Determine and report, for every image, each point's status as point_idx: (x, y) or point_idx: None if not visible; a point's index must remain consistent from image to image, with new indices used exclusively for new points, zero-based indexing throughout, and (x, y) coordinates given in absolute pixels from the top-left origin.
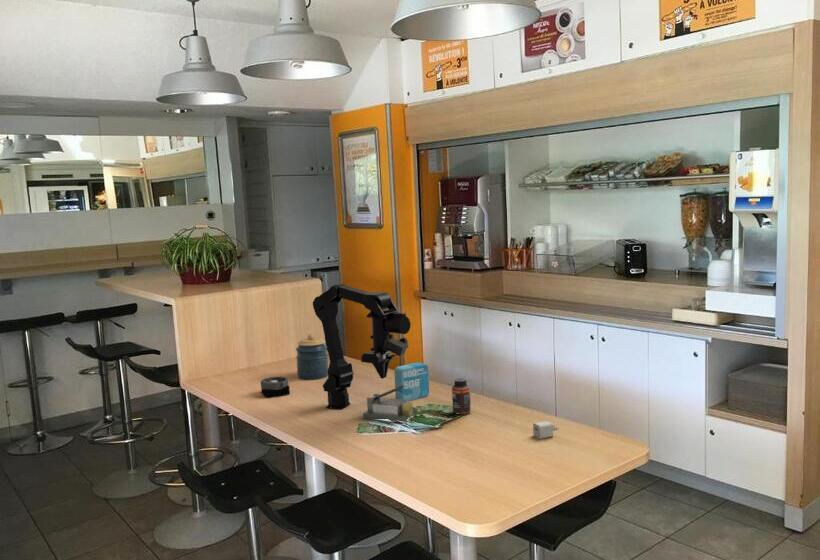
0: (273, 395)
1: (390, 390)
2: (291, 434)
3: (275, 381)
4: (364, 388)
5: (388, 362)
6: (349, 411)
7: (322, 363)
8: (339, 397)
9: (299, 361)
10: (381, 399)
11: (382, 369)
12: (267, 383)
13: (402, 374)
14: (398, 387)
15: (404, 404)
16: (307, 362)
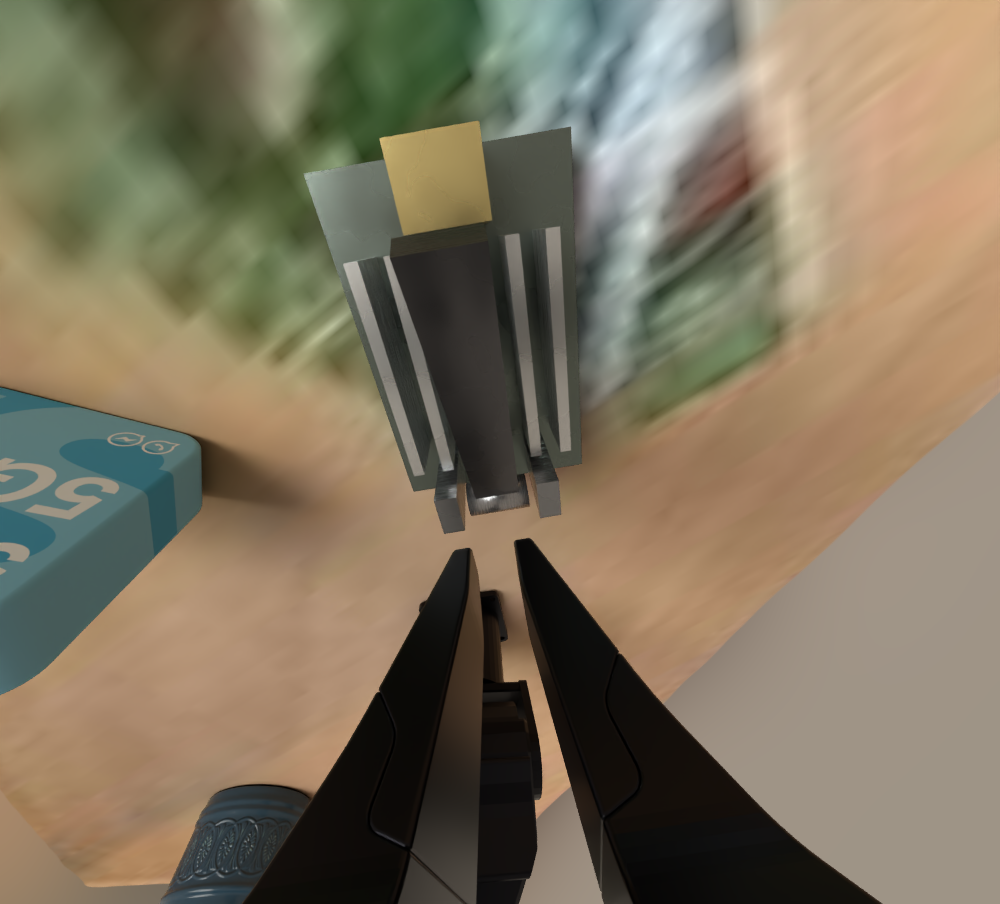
0: None
1: (472, 401)
2: (818, 553)
3: None
4: (216, 672)
5: (378, 849)
6: (499, 556)
7: (224, 855)
8: (487, 646)
9: None
10: (452, 461)
11: (624, 670)
12: None
13: (13, 583)
14: (490, 275)
15: (475, 190)
16: None
